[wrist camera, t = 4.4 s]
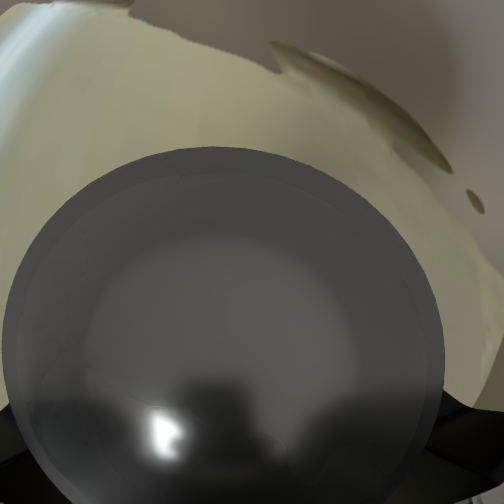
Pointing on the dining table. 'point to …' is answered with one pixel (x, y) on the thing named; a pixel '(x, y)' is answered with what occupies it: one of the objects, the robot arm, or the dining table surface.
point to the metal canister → (222, 338)
